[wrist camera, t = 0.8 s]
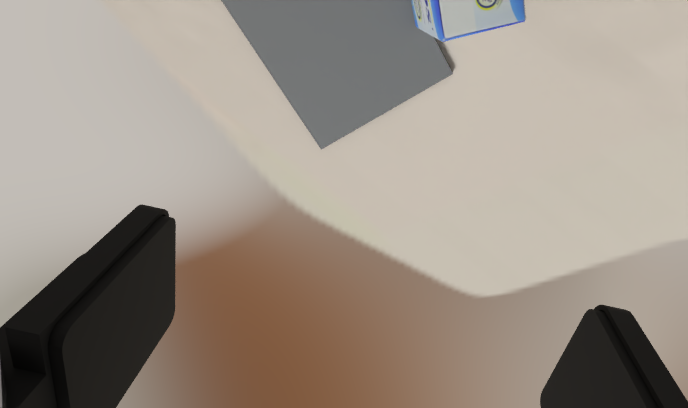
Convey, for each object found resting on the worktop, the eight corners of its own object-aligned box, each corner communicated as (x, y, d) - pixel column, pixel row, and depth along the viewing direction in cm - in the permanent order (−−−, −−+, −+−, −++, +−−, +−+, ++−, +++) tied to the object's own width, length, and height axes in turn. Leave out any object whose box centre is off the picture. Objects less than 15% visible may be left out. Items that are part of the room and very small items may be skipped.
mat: (345, -132, 28) (345, -134, 28) (452, 72, 33) (452, 73, 32) (207, -23, 32) (205, -24, 31) (321, 147, 36) (321, 149, 36)
